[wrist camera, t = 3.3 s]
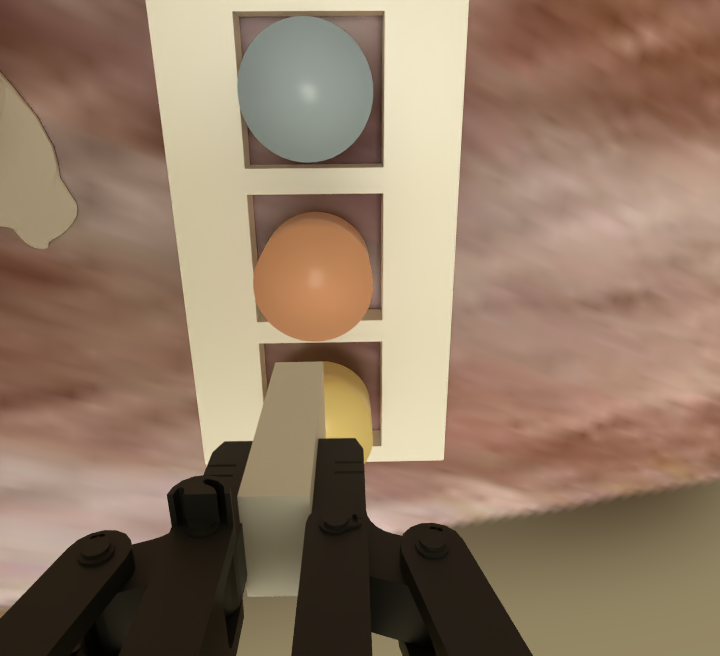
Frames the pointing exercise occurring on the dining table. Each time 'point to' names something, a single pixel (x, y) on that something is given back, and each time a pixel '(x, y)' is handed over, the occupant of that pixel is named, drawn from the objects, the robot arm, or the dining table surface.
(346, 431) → the ochre button
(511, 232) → the dining table surface
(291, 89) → the slate-blue button
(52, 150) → the beige tall tapered piece
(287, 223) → the terracotta button
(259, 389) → the panel
